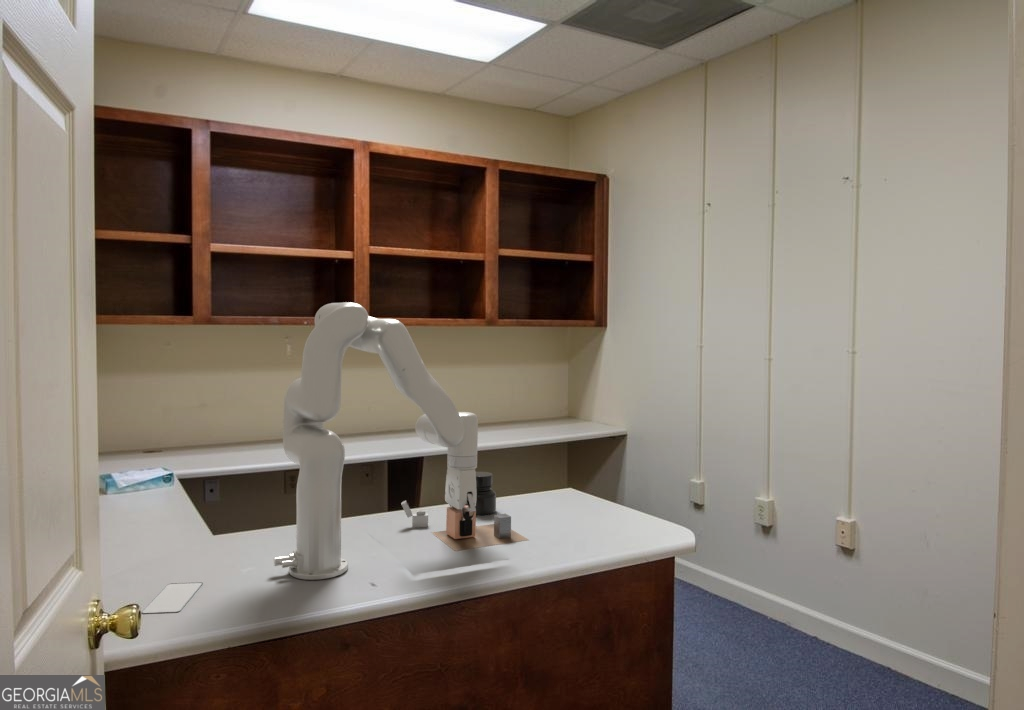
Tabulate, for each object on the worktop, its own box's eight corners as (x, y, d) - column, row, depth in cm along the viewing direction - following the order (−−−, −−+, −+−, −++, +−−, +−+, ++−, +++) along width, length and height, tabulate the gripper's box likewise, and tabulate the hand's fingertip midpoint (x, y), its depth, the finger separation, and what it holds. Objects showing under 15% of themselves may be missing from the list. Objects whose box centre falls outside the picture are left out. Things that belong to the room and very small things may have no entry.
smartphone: (203, 582, 146) (179, 611, 131) (203, 584, 146) (179, 614, 131) (168, 583, 145) (140, 613, 130) (168, 585, 145) (140, 616, 130)
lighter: (427, 529, 185) (428, 499, 185) (428, 531, 184) (428, 501, 183) (401, 530, 184) (401, 500, 184) (400, 532, 183) (401, 502, 182)
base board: (455, 555, 165) (455, 550, 165) (431, 537, 179) (431, 532, 179) (529, 544, 174) (529, 539, 174) (500, 527, 188) (500, 523, 188)
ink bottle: (483, 509, 206) (483, 469, 205) (503, 515, 200) (503, 474, 199) (457, 515, 199) (457, 473, 199) (477, 522, 193) (477, 479, 192)
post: (499, 539, 174) (499, 518, 173) (493, 535, 177) (494, 514, 176) (510, 537, 175) (511, 516, 175) (505, 534, 178) (505, 513, 178)
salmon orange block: (454, 539, 172) (455, 512, 172) (446, 533, 177) (446, 507, 177) (475, 536, 175) (475, 510, 174) (466, 530, 180) (466, 505, 179)
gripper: (435, 456, 181) (434, 525, 182) (462, 469, 166) (460, 543, 167) (462, 454, 185) (460, 521, 185) (490, 466, 169) (488, 540, 170)
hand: (460, 531), depth 176 cm, fingers closed on salmon orange block, 5 cm apart
